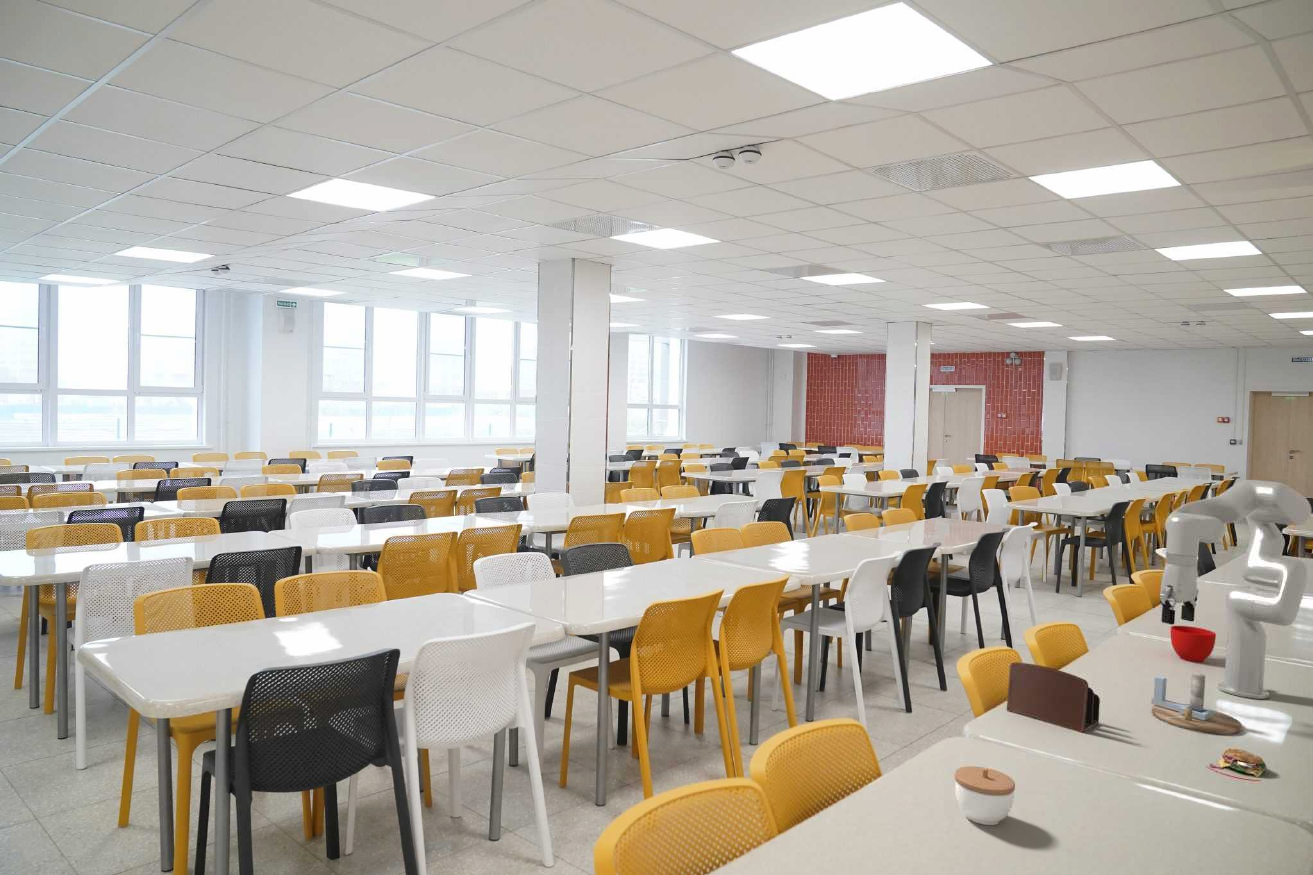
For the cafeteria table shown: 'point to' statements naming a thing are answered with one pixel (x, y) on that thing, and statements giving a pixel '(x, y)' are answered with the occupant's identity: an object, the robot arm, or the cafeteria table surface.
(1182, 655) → the red bowl
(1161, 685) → the blue square ring handle
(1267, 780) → the cafeteria table surface
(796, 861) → the cafeteria table surface
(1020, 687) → the letter holder
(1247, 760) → the hamburger
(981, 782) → the lidded jar
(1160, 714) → the post base
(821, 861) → the cafeteria table surface
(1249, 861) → the cafeteria table surface
